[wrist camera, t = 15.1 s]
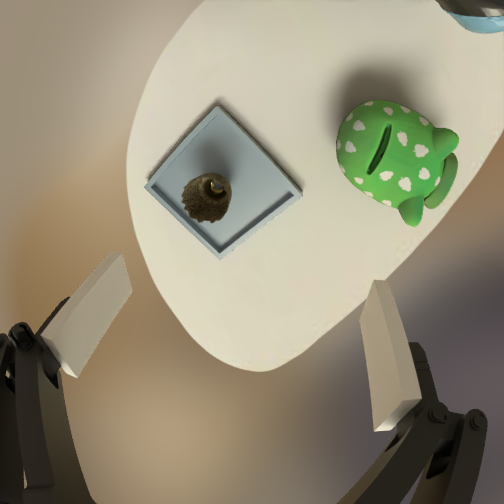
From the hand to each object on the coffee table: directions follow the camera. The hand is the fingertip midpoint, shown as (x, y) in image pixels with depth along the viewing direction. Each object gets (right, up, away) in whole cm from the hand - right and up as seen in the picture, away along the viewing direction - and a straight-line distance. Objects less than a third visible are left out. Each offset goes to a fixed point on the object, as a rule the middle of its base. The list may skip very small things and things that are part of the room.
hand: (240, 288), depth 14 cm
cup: (-5, +13, +34) cm, 36 cm away
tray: (-5, +13, +34) cm, 37 cm away
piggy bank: (+22, +19, +26) cm, 39 cm away
